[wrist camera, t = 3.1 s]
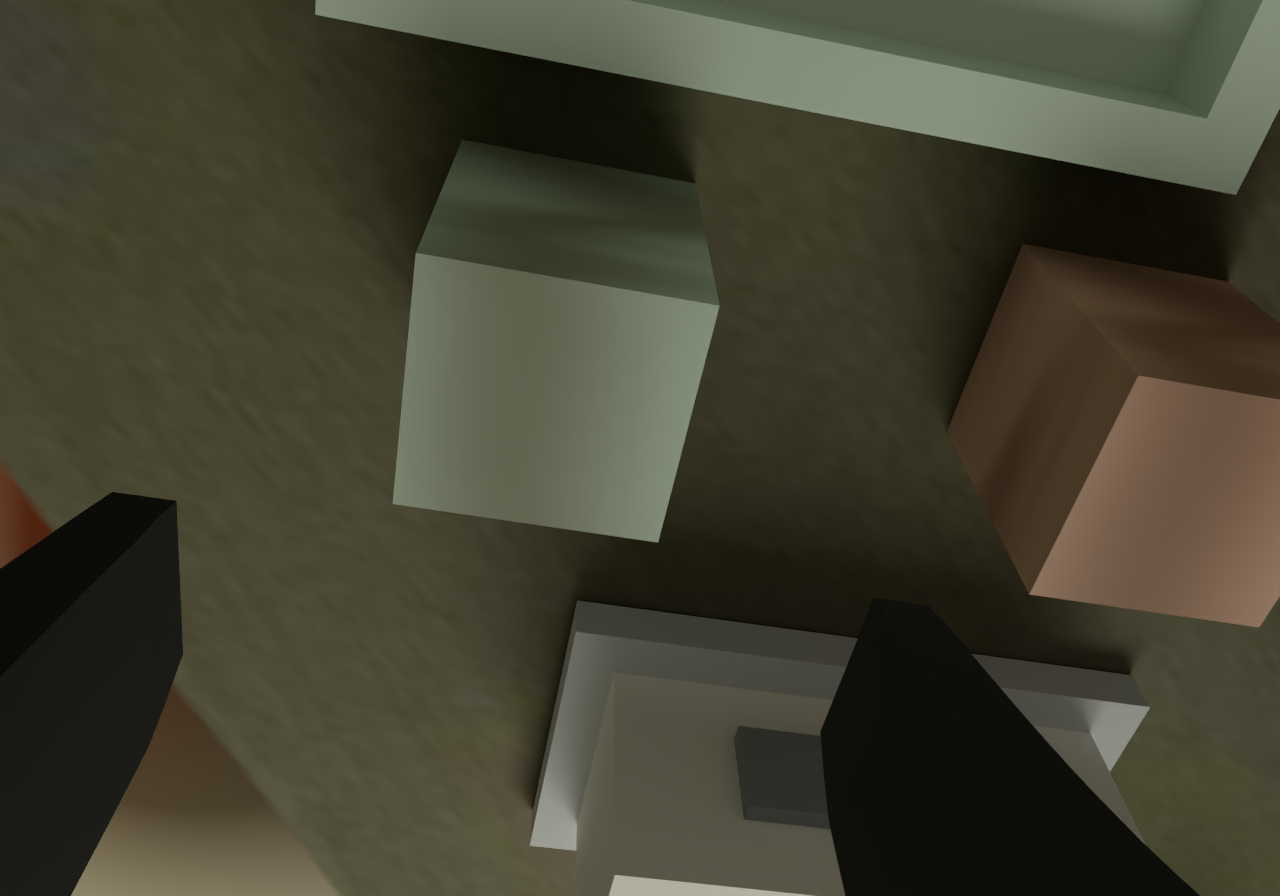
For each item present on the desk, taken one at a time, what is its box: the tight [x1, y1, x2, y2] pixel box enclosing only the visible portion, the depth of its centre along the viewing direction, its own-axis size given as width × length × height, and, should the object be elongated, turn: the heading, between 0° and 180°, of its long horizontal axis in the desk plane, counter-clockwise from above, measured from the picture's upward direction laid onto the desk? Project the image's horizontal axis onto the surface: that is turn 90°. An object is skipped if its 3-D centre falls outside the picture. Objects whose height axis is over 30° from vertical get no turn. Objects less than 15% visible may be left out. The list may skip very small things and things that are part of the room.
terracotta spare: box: [947, 244, 1280, 627], centre depth 18 cm, size 4×4×5 cm
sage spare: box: [393, 140, 719, 543], centre depth 17 cm, size 4×4×5 cm
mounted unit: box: [530, 600, 1150, 896], centre depth 23 cm, size 13×7×6 cm, turn 79°
